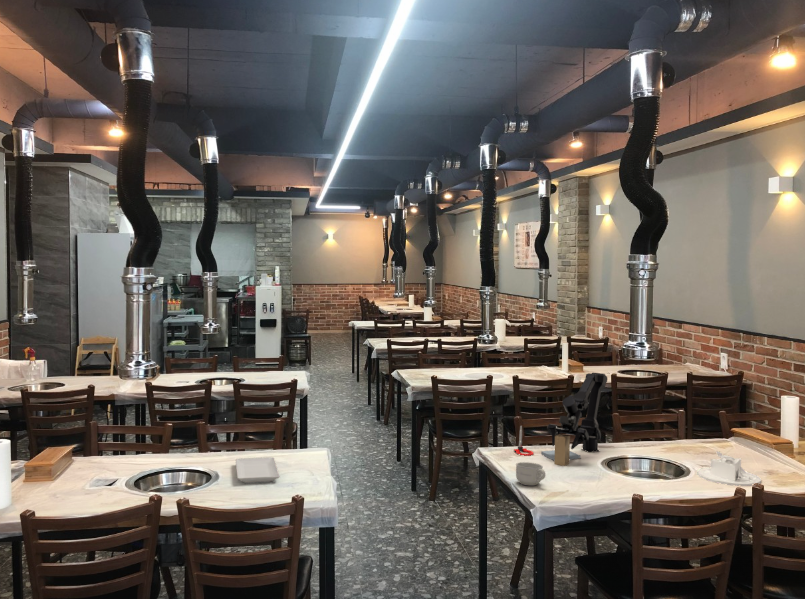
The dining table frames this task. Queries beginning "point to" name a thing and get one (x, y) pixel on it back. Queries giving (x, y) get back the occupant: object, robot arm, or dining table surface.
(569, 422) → the robot arm
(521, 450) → the tow hook
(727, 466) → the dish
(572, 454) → the mat
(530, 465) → the teacup
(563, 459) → the gold metal block
